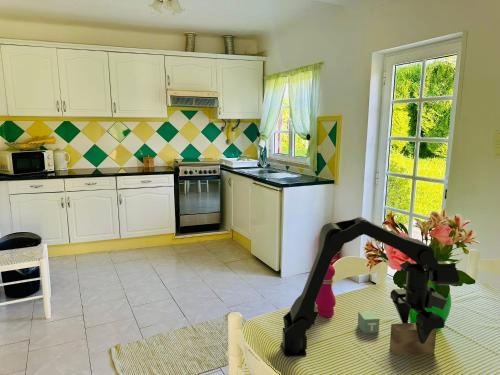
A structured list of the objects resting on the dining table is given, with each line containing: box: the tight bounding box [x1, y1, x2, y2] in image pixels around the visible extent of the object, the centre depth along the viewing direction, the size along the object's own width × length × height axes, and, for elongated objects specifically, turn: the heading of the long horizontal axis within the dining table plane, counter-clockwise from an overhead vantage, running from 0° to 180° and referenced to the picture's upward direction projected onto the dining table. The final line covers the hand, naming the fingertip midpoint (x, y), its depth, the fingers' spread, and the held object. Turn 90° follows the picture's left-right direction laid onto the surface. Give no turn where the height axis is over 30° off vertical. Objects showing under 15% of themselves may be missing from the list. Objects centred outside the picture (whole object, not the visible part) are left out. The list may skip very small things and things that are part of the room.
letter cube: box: [357, 310, 380, 335], centre depth 115 cm, size 5×5×5 cm
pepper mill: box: [315, 264, 336, 318], centre depth 124 cm, size 7×7×20 cm
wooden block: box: [389, 322, 437, 357], centre depth 104 cm, size 12×4×8 cm, turn 95°
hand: (413, 334), depth 103 cm, fingers open, 9 cm apart
